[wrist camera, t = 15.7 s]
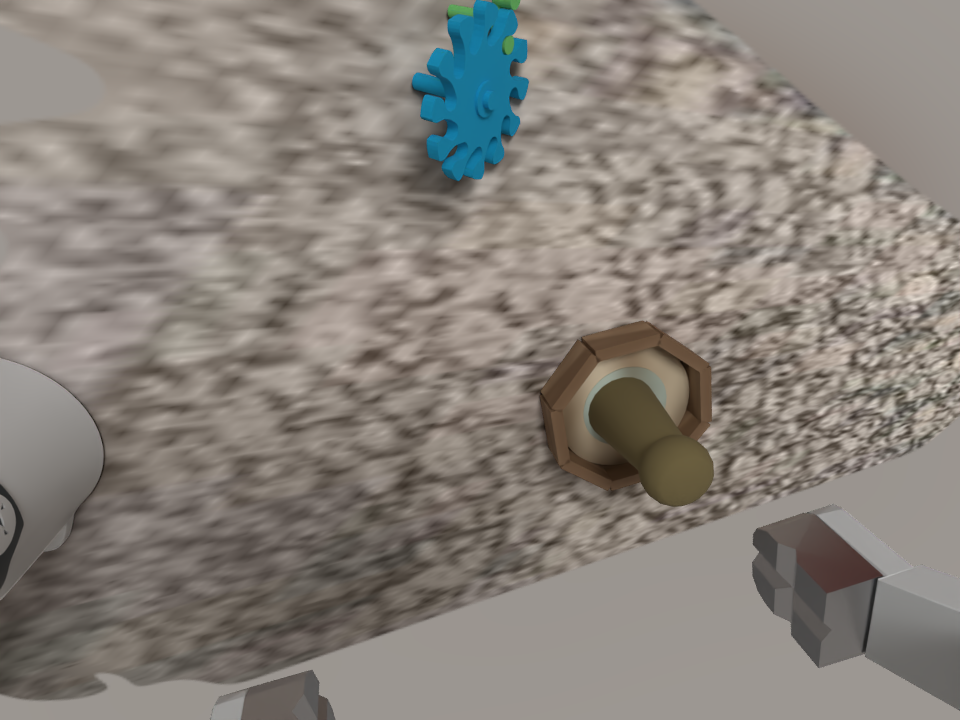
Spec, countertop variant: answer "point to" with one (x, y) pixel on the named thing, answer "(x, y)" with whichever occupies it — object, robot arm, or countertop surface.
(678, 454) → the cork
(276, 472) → the countertop surface
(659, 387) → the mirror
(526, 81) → the gear
